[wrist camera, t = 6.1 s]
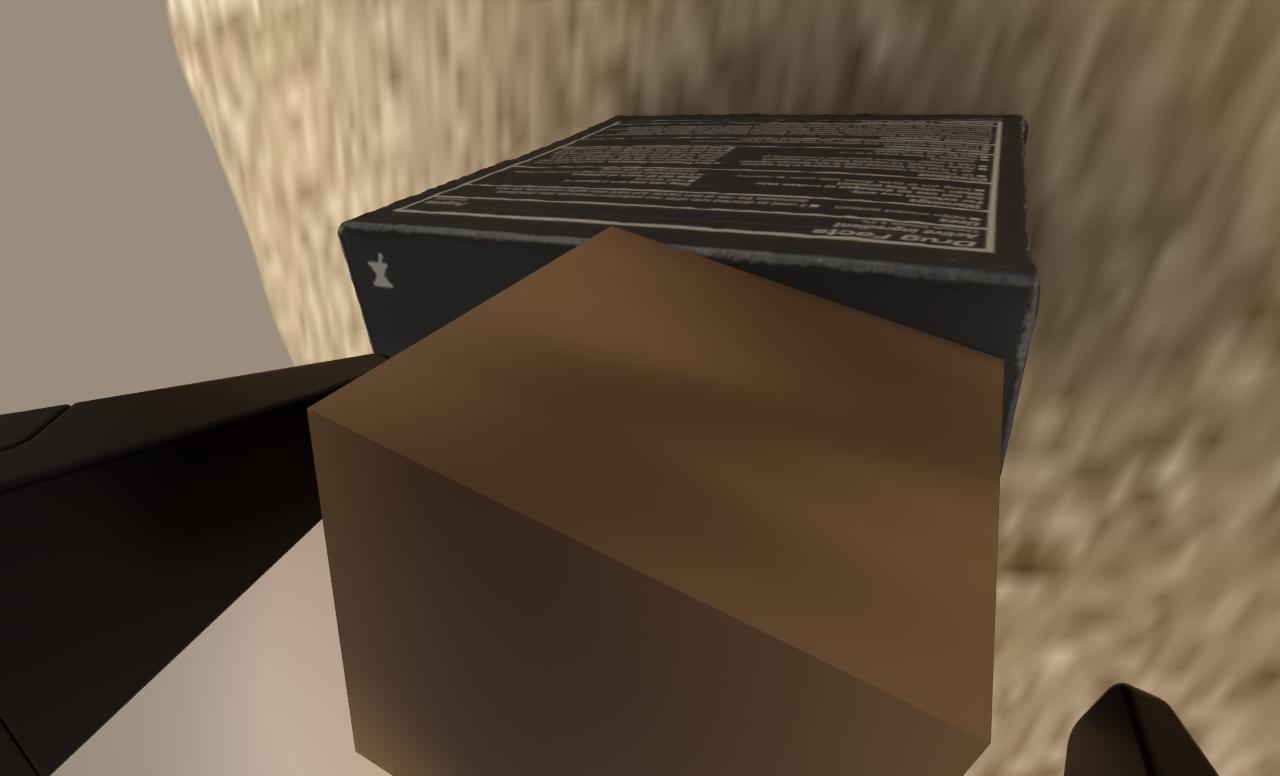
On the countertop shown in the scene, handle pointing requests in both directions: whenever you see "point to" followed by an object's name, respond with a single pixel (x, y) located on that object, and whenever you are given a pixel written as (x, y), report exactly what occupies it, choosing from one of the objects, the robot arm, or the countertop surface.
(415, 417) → the block
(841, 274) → the small box
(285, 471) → the robot arm
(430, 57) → the countertop surface
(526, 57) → the countertop surface
